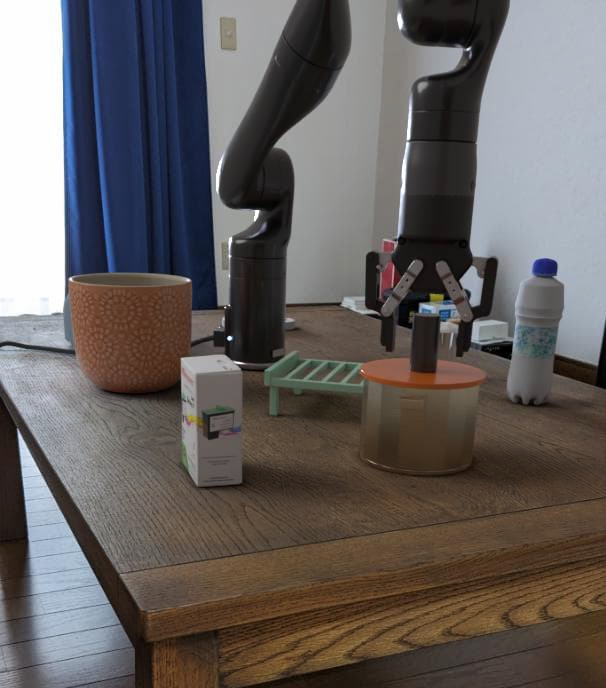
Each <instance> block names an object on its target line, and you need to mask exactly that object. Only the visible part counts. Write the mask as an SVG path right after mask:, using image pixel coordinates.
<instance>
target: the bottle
mask: <svg viewBox="0 0 606 688" xmlns="http://www.w3.org/2000/svg"><path fill="white" fill-rule="evenodd" d="M558 269H559V263H558V262H557V261H556V260H555V259H553V258H547V257H544V258H543V257H542V258H538V259H535V260H534V262H533V264H532V268H531V275H532V276H531V277H528V278H526V279H524V280H522V281H521V282H520V284H519V287H518V292H517V295H516V300H515V303H514V307H515V311H514V316H515V327H514V334H513V342H512V352H511V359H510V365H509V370H508V374H507V381H506V395H507V397H508V399H509V400H511V401H512V402H513V403H514V404H517V403H519V402H520V401H519V400H520V399H521V400H522V401H521V402H522V404H523V405H524V406H527V405H529V403H530V401H531V399H533V404H534V405H535V406H539V405H541V404H545V403H547V401H549V398H550V396H551V393H552V388H553V377H554V362H555V356H556V348H557V341H558V333H559V327H560V322H561V320H562V319H563V312H564V310H565V284H564V283H563V282H561V281H560V280H559V279H557V278H555V277H557V276H558Z"/></svg>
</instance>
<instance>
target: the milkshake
mask: <svg viewBox="0 0 606 688" xmlns="http://www.w3.org/2000/svg"><path fill="white" fill-rule="evenodd" d="M458 327H459V324H456V323H454V322H450V321H441V326H440V337H439V349H438V360H443V361H450V362H456V359H457V357H456V348H457V338H458Z"/></svg>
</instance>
